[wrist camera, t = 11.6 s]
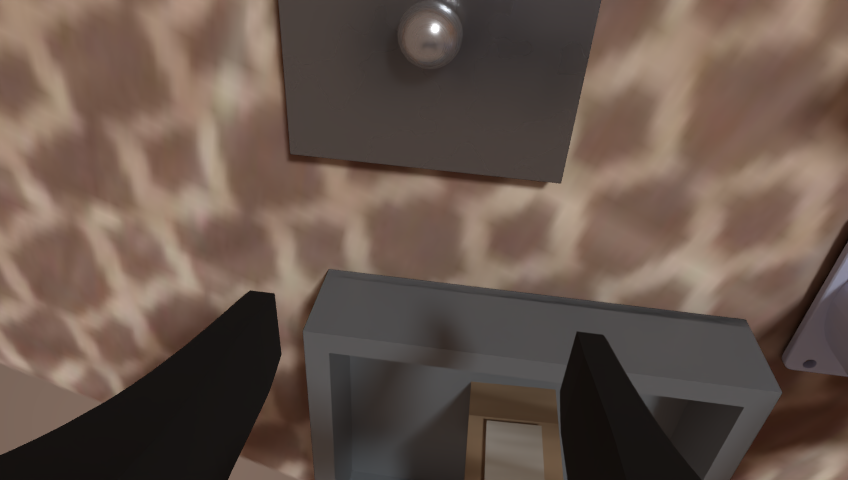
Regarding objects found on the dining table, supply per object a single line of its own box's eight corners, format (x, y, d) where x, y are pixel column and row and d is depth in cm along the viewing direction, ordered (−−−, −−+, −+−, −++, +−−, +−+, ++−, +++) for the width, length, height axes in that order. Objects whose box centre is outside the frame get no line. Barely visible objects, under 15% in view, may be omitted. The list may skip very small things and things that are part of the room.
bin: (745, 319, 25) (782, 392, 21) (647, 515, 33) (663, 589, 30) (328, 269, 26) (303, 331, 23) (337, 471, 34) (319, 537, 31)
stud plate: (627, -150, 16) (647, -149, 14) (558, 170, 22) (565, 209, 20) (276, -176, 17) (239, -178, 14) (298, 142, 22) (274, 176, 20)
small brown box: (544, 442, 30) (553, 585, 24) (467, 434, 30) (457, 573, 25) (556, 385, 27) (569, 528, 22) (471, 377, 28) (462, 516, 22)
